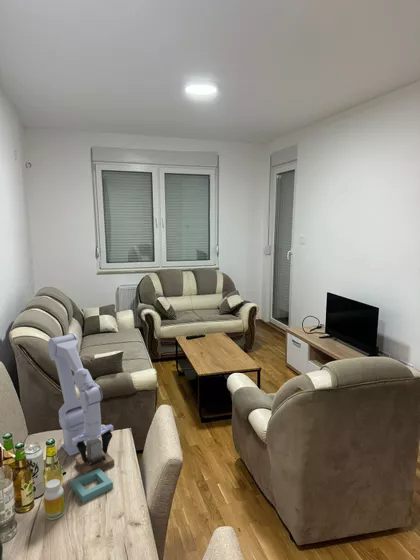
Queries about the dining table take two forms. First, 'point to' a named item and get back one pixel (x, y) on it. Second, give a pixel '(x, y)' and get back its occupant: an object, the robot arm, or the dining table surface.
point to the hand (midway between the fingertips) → (94, 456)
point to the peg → (94, 451)
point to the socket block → (105, 464)
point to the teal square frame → (94, 491)
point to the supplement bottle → (54, 500)
